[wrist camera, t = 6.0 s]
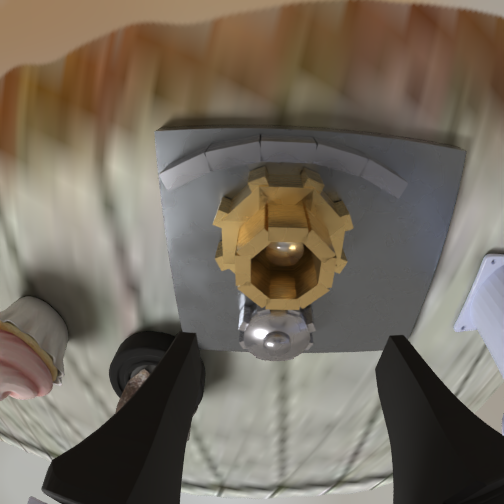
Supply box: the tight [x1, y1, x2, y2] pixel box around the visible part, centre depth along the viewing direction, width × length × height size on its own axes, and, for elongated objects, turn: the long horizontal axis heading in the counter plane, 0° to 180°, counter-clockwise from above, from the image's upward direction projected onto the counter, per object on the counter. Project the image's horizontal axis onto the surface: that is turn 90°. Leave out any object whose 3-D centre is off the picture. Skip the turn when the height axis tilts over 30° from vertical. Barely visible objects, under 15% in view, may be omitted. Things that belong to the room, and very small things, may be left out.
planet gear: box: [212, 166, 354, 310], centre depth 17 cm, size 7×7×4 cm
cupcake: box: [0, 296, 68, 401], centre depth 22 cm, size 9×9×10 cm
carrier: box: [154, 125, 466, 361], centre depth 19 cm, size 18×17×4 cm
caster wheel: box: [109, 332, 205, 441], centre depth 26 cm, size 7×11×10 cm
